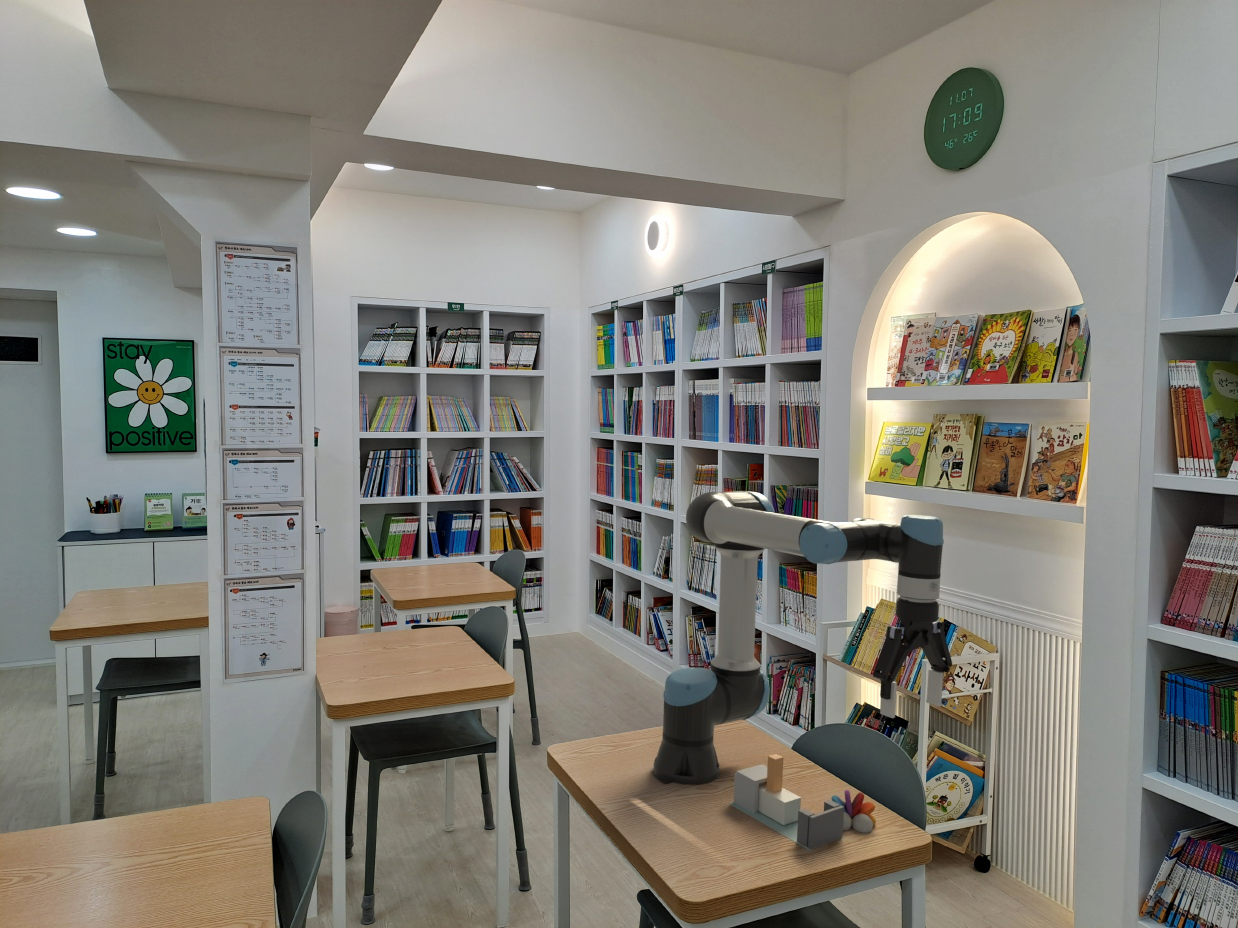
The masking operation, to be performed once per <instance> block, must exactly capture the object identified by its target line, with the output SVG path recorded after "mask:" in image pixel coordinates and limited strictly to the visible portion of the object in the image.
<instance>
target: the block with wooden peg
mask: <svg viewBox="0 0 1238 928" xmlns="http://www.w3.org/2000/svg"><path fill="white" fill-rule="evenodd" d="M783 773H784V756H782V755H780V754H777V753H774V754H769V755H768V756H767V782H763V783H760V784H759V786H758V807H757V811H759V812H761V813H763V814H765V815H766V816H768V817H770V818H772V819H773V820H775V821H777V822H779V823H780V824H782V825H786V824H789V823H792V822H795V821H798V810H801V805H802V804H801V803H802V797H801V796H799V795H798V794H796V793H793V792H791V791H790V790H787V789H785V788H784V787H783V775H784V774H783Z"/></svg>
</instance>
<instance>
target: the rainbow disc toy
mask: <svg viewBox="0 0 1238 928" xmlns="http://www.w3.org/2000/svg"><path fill="white" fill-rule="evenodd" d="M830 798H831V799H830V800H831V801H833V802H835V803H837V804H839V805H840V806H843V807H844V818H843V831H846V830H847V831H848V830H849V829H851V828H852V829H853V830H854V831H857V832H860V833H870V832H872V830H873V827H874V826H875V825H876V822H877V821H876V820H877V819H876V818H875V817H874V816H873V815H872V813H873V812H874V811H875V809H876V806H875V804H874V802H868V801H867V802H864V799H865V794H864V793H863V792H858V793H857V794H856V795H855V796H854V798H853V800H852V798H851V792H850V790H848V789H845V790H844V800H843V799H841V797H840V796H838V795H835V794H834V795H832V796H831V797H830Z"/></svg>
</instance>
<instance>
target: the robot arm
mask: <svg viewBox="0 0 1238 928" xmlns="http://www.w3.org/2000/svg"><path fill="white" fill-rule="evenodd" d="M685 522H686V526H687V528H688V529H687V530H688V531H689V532H690V534H691V535H692V536H693V537H694V538H696V539H697V540H698V541H701V542H704V543H714V549H715V550H717V552H718V553H719V554H720V573H719V574H720V580H719V605H718V606H719V607H718V631H717V632H718V636H717V637H718V638H717V654H716V655H715V657H713V658H712V659H710V669H709V668H705V667H694V668H692V667H685V668H679V669H677V670H675V671H673V672H671V673H670V674H669V675H668V676H667V677H666V680H665V684H664V690H663V694H662V695H663V696H662V697H663V714H662V715H663V718H662V719H663V720H662V740H661V742H660V745H659V749H658V752H657V755H656V757H655V759H654V761H653V771H652V773H653V776H654V777H655V778H656V779H657V780H659V782H662V783H664V784H666V785H669V784H673V783H674V784H679V785H686V786H699V785H705V784H709V783H712V782H714V781H716V780H717V779H718V778H719V777H720V774H721V766H720V762H719V760H718V755H717V752H716V747H715V744H714V736H715V726H718V725H724V724H727V723H732V722H738V721H745V720H749V719H751V718H752V717H756V716H758V715H759V714H760V713H762V712H763V711H764V710H765V709H766V707H767V705H768V702H769V700H770V695H771V694H770V683H769V680H768V679H766V678H767V675H766V674H765V672H764V671H763V670H762V669H761V663H760V662H759V661H758V660H757V659H756V656H755V642H756V641H755V637H756V636H755V635H756V617H757V616H756V613H757V590H758V589H757V588H758V587H757V583H758V581H757V580H758V558H759V557H760V555H761V554H762V553H763V552H764V551H765V550H770V551H776V552H779V553H785V554H790V555H795V556H800V557H804V558H806V560H807V561H808V562H810V563H812V564H819V565H831V564H836V563H846V562H855V561H856V562H857V561H858V562H859V561H867V560H870V561H871V560H880V561H885V562H891V563H896V564H898V567H897V569H898V570H897V573H898V574H897V584H896V594H897V596H898V597H897V598H896V605H895V606H896V607H895V616H896V618H898V620H899V625H898V627H896V626H892V625H888V626H887V628H886V633H885V634H886V635H885V640H884V642H883V645H882V647H881V651H880V653H879V655H878V659H877V661H876V663H875V667H874V669H873V672H872V677H874V678H876V679H879V681H880V693H879V696H880V712H879V714H880V715H883V716H885V717H887V718H891V719H894V718H896V709H897V708H896V706H897V705H896V704H897V692H898V691H897V688H898V683H897V681H895V679H896V677H897V675H898V674H899V673H900V670H901V669H902V666H903V665H904V663H905V662H906V660H907V658H908V656H909V654H911V653H913V651H914V650H918V649H920V648H921V650H922V652H923V653H924V654H923V655H924V656H925V657H926V659H927V661H928V663H929V665H930V666H931V668H929V669H928V674H927V687H926V688H927V690H926V703H927V704H929V705H933V706H935V707H938V708H939V707H942V701H943V700H942V698H943V685H944V675H945V674H944V673H946V674H948V673H949V672H950V670H951V667H952V665H953V661H952V656H951V653H950V650H949V649H950V648H949V646H948V642H947V638H946V634H945V622H944V621H941V620H939V610H940V603H939V601H938V599H939V598H940V593H941V591H940V589H941V587H940V586H941V568H942V558H943V557H942V555H943V546H944V543H945V542H944V522H943V520H942V519H941V518H939V517H937V516H933V515H932V516H931V515H922V514H904V515H903V516H902V517H901V520H900V523H897V522H890V521H884V520H876V519H874V518H865V517H864V518H861V517H860V518H858V517H857V518H856V517H855V518H854V519H852V520H851V521H844V522H843V521H839V522H837V521H836V522H835V521H827V520H820V519H814V518H807V517H802V516H794V515H788V514H783V513H776V512H775V509H774V506H773V504H772V503H771V502H770V501H769V499H768V497H767V496H765V495H763V494H762V493H760V492H755V491H747V490H736V491H735V490H734V491H709V492H704V493H702V494H700V495H698V496H696V497H695V498H694V499H693V500H692V501H691V502H690V503H689V505H688V507H687V509H686V512H685Z"/></svg>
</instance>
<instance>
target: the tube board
mask: <svg viewBox="0 0 1238 928" xmlns="http://www.w3.org/2000/svg"><path fill="white" fill-rule="evenodd" d="M767 767H768V765H765V764H763V763H762V764H758V765H755V766H750V767H748V768H747V767H746V768H744V769H740V770H736V773H734V781H733V782H734V784H733V785H734V786H733V787H734V789H733V801H732V802H731V803H728V804H729V805H730V806H732V807H733V808H735V809H737V810H739V811H741V812H742V813H744V814H746V815H747V816H749V817H751V818H753V819H754V820H756V821H757V822H760V823H761V824H763V825H764V826H766V827H768V828H769V829H772V830H773V831H775V832H777V833H779V834H780V835H782V836H784V838H788V839H789V840H790V841H792V842H794V843H795V844H798V845H799V846H801V847H803V848H805V849H806V850H808V851H811V850H813V849H815V848H818V847H820V846H824V845H826V844H829V843H832V842H834V841H837V840H839V839H841V838H842V839H843V838H845V836H844V834H843V832H844V830H843V818H844V807H843V806H840V805H839V804H837V803H835V802H833V801H832V799H828V800H824V802H823V811H822V812H819V813H814V812H812V811H810V810H808V809H806V808H800V810H798V821H795V822H792V823H789V824H786V825H782V824H780V823H779V822H777V821H775V820H773V819H772V818H770V817H768V816H766V815H765V814H763V813H761V812H759V811H757V807H758V786H759V784H760V783H763V782H767Z"/></svg>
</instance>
